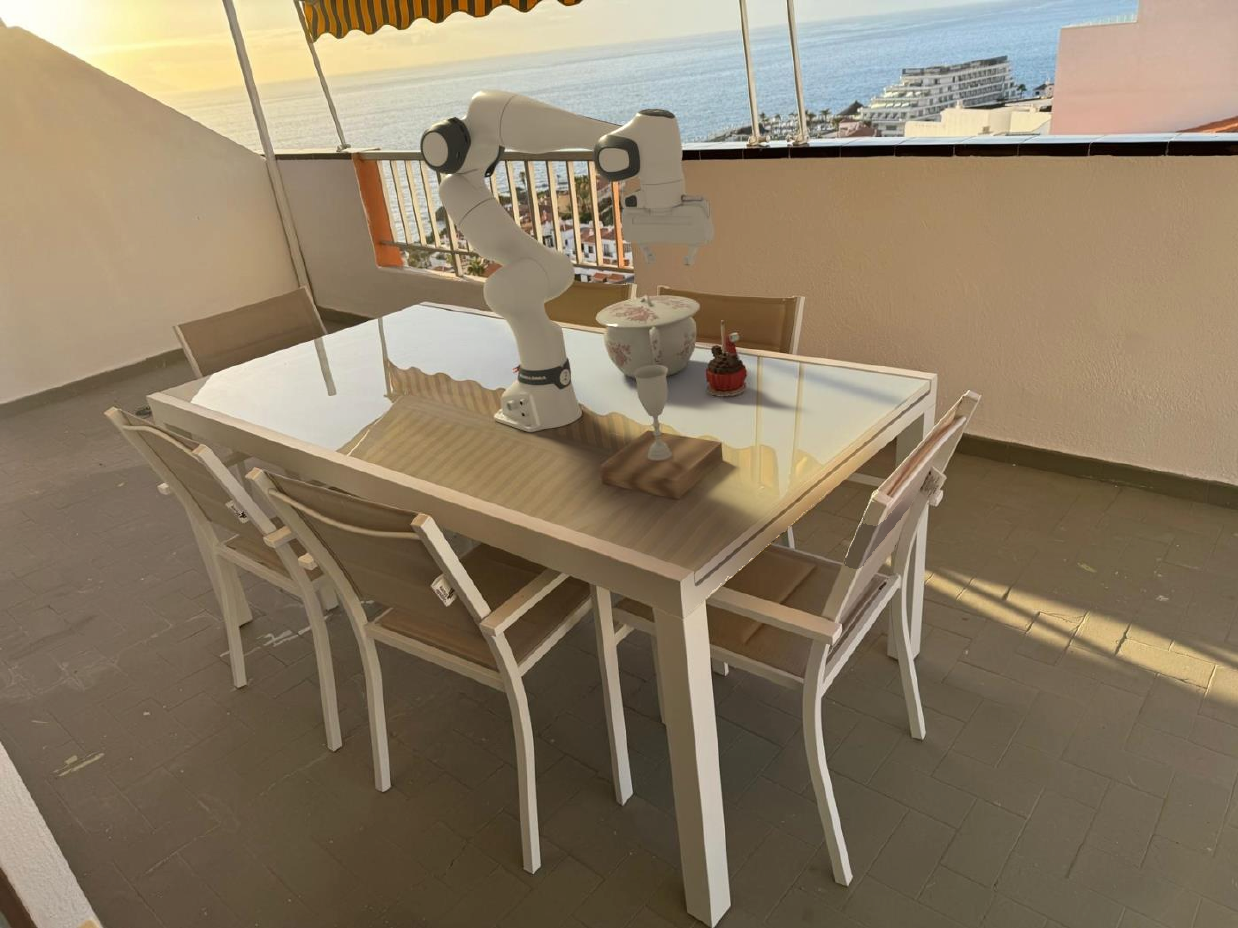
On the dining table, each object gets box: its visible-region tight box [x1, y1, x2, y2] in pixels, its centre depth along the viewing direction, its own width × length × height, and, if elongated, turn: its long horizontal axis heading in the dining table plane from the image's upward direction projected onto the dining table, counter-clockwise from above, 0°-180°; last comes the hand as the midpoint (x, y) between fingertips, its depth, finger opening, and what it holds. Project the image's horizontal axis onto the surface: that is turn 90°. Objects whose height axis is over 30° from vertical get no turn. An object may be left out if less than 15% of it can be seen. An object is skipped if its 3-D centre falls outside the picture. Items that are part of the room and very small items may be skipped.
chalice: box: [633, 365, 672, 461], centre depth 167 cm, size 7×7×18 cm
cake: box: [705, 319, 748, 397], centre depth 204 cm, size 11×9×18 cm
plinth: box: [599, 429, 724, 500], centre depth 172 cm, size 18×18×4 cm
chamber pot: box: [595, 294, 701, 379], centre depth 223 cm, size 28×28×21 cm
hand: (670, 264), depth 175 cm, fingers open, 8 cm apart
